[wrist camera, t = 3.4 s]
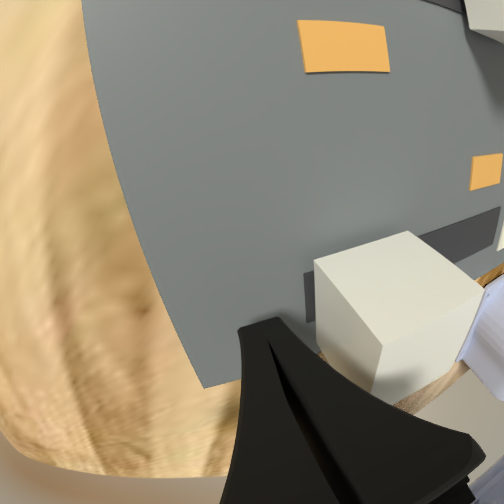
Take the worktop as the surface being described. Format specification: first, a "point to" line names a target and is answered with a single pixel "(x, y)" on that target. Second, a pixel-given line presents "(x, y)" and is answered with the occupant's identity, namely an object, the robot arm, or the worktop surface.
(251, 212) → the switch unit
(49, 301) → the worktop surface
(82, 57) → the worktop surface
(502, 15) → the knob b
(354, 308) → the white cube
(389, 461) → the robot arm
